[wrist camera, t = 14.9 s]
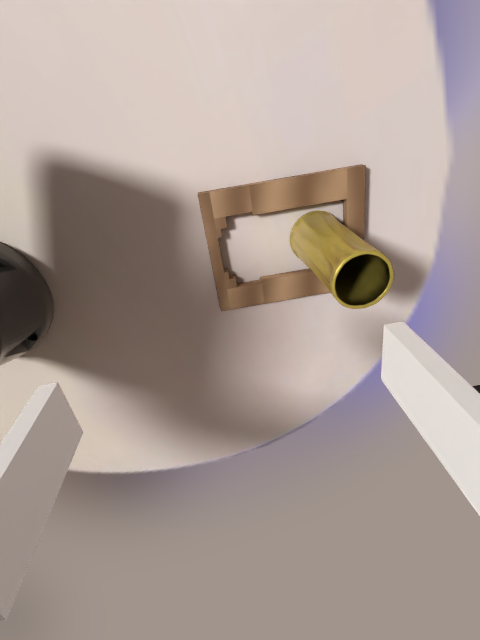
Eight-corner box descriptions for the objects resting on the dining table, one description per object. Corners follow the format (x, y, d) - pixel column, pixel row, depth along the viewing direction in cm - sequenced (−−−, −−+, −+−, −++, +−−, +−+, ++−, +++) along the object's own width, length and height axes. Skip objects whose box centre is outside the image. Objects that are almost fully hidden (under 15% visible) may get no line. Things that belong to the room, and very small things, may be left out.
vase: (344, 251, 42) (403, 299, 30) (297, 268, 43) (334, 323, 30) (334, 202, 40) (394, 233, 27) (283, 221, 40) (318, 261, 28)
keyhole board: (220, 306, 44) (220, 311, 43) (197, 192, 38) (197, 194, 37) (359, 282, 45) (362, 286, 44) (361, 164, 38) (365, 165, 37)
